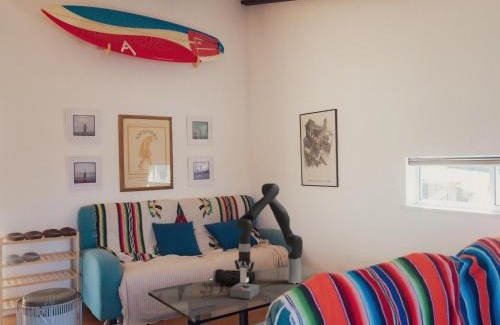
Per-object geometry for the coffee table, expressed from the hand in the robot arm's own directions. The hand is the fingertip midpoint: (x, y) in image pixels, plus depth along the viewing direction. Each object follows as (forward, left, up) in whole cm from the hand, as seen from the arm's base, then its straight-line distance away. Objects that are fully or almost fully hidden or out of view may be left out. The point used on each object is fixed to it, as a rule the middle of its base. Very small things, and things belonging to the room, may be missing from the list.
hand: (244, 276), depth 278 cm
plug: (0, 0, -3) cm, 3 cm away
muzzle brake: (-16, -16, -12) cm, 25 cm away
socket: (0, 0, -11) cm, 11 cm away
